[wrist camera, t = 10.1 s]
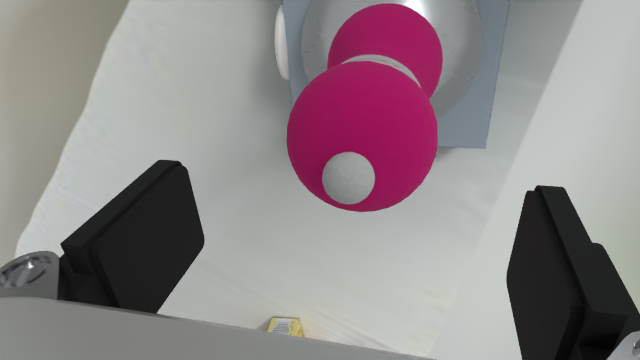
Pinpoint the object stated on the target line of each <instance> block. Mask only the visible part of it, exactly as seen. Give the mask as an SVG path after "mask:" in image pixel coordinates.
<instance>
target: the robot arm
mask: <svg viewBox="0 0 640 360" xmlns="http://www.w3.org/2000/svg"><path fill="white" fill-rule="evenodd" d="M60 245H61V247H62V249H63V251H64V253H65V254H63V255H62V256H61V257H60V258H59V257H58V255H56V254H55V253H54V252H49V251H38V252H33V253H29V254H26V255H23V256H20V257H18V258H16V259H14V260H12V261H10V262H9V263H7V264H6V265H4V266H3V267H2V268H0V360H436V359H431V358H425V357H419V356H413V355H407V354H401V353H395V352H389V351H382V350H377V349H371V348H365V347H359V346H353V345H347V344H341V343H335V342H329V341H323V340H317V339H311V338H305V337H299V336H292V335H286V334H280V333H274V332H268V331H262V330H255V329H249V328H243V327H237V326H230V325H224V324H218V323H212V322H205V321H199V320H192V319H186V318H180V317H173V316H167V315H160V314H156V313H157V312H158V310H159V309H160V307H161V306H162V305H163V303H164V302H165V300H166V299H167V298H168V296H169V295H170V293H171V292H172V291H173V289H174V288H175V286H176V285H177V284H178V282H179V281H180V279H181V278H182V277H183V275H184V274H185V272H186V271H187V270H188V268H189V267H190V265H191V264H192V263H193V261H194V260H195V258H196V257H197V256H198V254H199V253H200V251H201V250H202V248H203V246H204V234H203V230H202V226H201V222H200V218H199V214H198V210H197V206H196V202H195V198H194V194H193V190H192V186H191V182H190V178H189V174H188V171H187V168H186V167H184V166H182V164H181V162H179V161H171V160H159V161H157V162H156V163H155V164H153V165H152V166H151V167H150V168H149V169H147V170H146V171H145V172H144V173H143V174H142V175H140V176H139V177H138V178H137V179H136V180H135V181H133V182H132V183H131V184H130V185H129V186H128V187H126V188H125V189H124V190H123V191H122V192H120V193H119V194H118V195H117V196H116V197H115V198H113V199H112V200H111V201H110V202H109V203H108V204H106V205H105V206H104V207H103V208H102V209H101V210H99V211H98V212H97V213H96V214H95V215H94V216H92V217H91V218H90V219H89V220H88V221H86V222H85V223H84V224H83V225H82V226H81V227H79V228H78V229H77V230H76V231H75V232H74V233H72V234H71V235H70V236H69V237H68V238H67V239H65V240H64V241H63V242H62V243H61V244H60ZM507 288H508V293H509V297H510V302H511V307H512V312H513V317H514V321H515V326H516V331H517V335H518V341H519V346H520V350H521V355H522V360H640V314H639V312H638V310H637V308H636V306H635V304H634V302H633V300H632V299H631V297H630V295H629V293H628V291H627V289H626V288H625V286H624V284H623V282H622V280H621V278H620V276H619V274H618V273H617V271H616V269H615V267H614V265H613V263H612V261H611V259H610V258H609V256H608V254H607V252H606V250H605V249H604V247H603V246H602V245H601V244H598V243H592V242H591V240H590V238H589V236H588V234H587V232H586V230H585V228H584V226H583V224H582V222H581V220H580V218H579V216H578V214H577V212H576V210H575V208H574V206H573V204H572V202H571V200H570V198H569V196H568V194H567V192H566V190H565V189H564V188H563V187H554V186H540V185H538V186H536V188H535V190H534V191H527V192H526V195H525V199H524V203H523V207H522V212H521V216H520V220H519V224H518V228H517V232H516V237H515V241H514V245H513V249H512V254H511V257H510V262H509V266H508V270H507Z"/></svg>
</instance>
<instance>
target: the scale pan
mask: <svg viewBox="0 0 640 360" xmlns="http://www.w3.org/2000/svg"><path fill="white" fill-rule="evenodd" d="M385 3H395V4H401V5H404V6H407V7H409V8H411V9H413V10H415V11H417V12H418V13H419V14H421V15H422V16H423V17H425V18H426V19H427V21H428V22H429V23H430V24H431V25H432V27H433V28H434V30H435V31H436V33H437V35H438V38H439V40H440V43H441V47H442V54H443V64H442V71H441V76H440V79H439V83H438V85H437V87H436V89H435V91H434V93H433V95H432V97H431V98H430V99H429V101H430V103H431V105H432V107H433V109H434V113H435V116H436V120H437V119H438V118H440V117H441V116H443V115H444V114H446V113H447V112H448V111H449V110H450V109H451V108H452V107H453V106H455V105H456V103H457V102H458V101H459V100H460V99H461V98H462V96H463V95H464V94H465V92H466V91H467V89H468V88H469V86H470V84H471V82H472V80H473V78H474V76H475V74H476V71H477V68H478V65H479V61H480V57H481V52H482V40H483V37H482V24H481V19H480V14H479V11H478V8H477V6H476V3H475V0H312V2H311V4H310V6H309V8H308V11H307V14H306V16H305V20H304V24H303V28H302V37H301V53H302V61H303V66H304V69H305V73H306V76H307V78H308V81H309V83H310V82H311V81H312V80H313V79H314V78H316V77H317V76H318V75H319V74H321V73H323V72H325V71H326V70H327V61H328V53H329V50H330V47H331V44H332V41H333V39H334V37H335V35H336V33H337V32H338V30H339V28H340V27H341V26H342V25H343V23H344V22H345V21H346V20H347V19H348V18H350V17H351V16H352V15H353V14H355V13H356V12H358V11H360V10H361V9H364V8H366V7H369V6H372V5H376V4H385Z"/></svg>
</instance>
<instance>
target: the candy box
mask: <svg viewBox="0 0 640 360" xmlns="http://www.w3.org/2000/svg"><path fill="white" fill-rule="evenodd" d="M267 331H268V332H274V333H280V334H286V335H292V336H299V337H304V334H303V330H302V327H301V323H300V320H299V318H274V317H273V318H272V319H271V322H270V324H269V327H268V330H267Z"/></svg>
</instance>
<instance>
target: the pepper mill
mask: <svg viewBox="0 0 640 360" xmlns="http://www.w3.org/2000/svg"><path fill="white" fill-rule="evenodd" d="M442 64H443V54H442V47H441V43H440V40H439V38H438V35H437V33H436V31H435V30H434V28H433V27H432V25H431V24H430V23H429V22H428V21H427V19H426V18H425V17H423V16H422V15H421V14H419V13H418V12H417V11H415V10H413V9H411V8H409V7H407V6H404V5H401V4H395V3H385V4H376V5H372V6H369V7H366V8H364V9H361V10H360V11H358V12H356V13H355V14H353V15H352V16H351V17H350V18H348V19H347V20H346V21H345V22H344V23H343V25H342V26H341V27H340V28H339V30H338V32H337V33H336V35H335V37H334V39H333V41H332V44H331V47H330V50H329V53H328V61H327V70H326V71H325V72H323V73H321V74H319V75H318V76H317V77H316V78H314V79H313V80H312V81H311V82H310V83H309V84H308V85H307V86H306V87H305V88H304V89H303V91H302V92H301V94H300V95H299V97H298V98H297V100H296V102H295V104H294V106H293V108H292V111H291V113H290V118H289V122H288V126H287V148H288V155H289V158H290V160H291V163H292V166H293V168H294V170H295V172H296V174H297V176H298V178H299V179H300V181H301V182H302V183H303V184H304V185H305V186H306V188H307V189H308V190H309V191H310V192H312V193H313V194H314V195H315V196H317V197H318V198H320V199H321V200H323V201H324V202H326V203H328V204H330V205H333V206H335V207H337V208H341V209H345V210H349V211H357V212H367V211H377V210H381V209H385V208H388V207H391V206H393V205H395V204H397V203H399V202H401V201H402V200H404V199H405V198H406V197H408V196H409V195H410V194H411V193H412V192H413V191H414V190H415V189H416V188H417V187H418V186H419V185H420V184H421V183H422V182H423V180H424V179H425V177H426V175H427V174H428V172H429V171H430V169H431V166H432V164H433V161H434V158H435V156H436V150H437V144H438V128H437V120H436V116H435V113H434V109H433V107H432V105H431V103H430V101H429V99H430V98H431V97H432V95H433V93H434V91H435V89H436V87H437V85H438V83H439V79H440V76H441V71H442Z"/></svg>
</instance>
